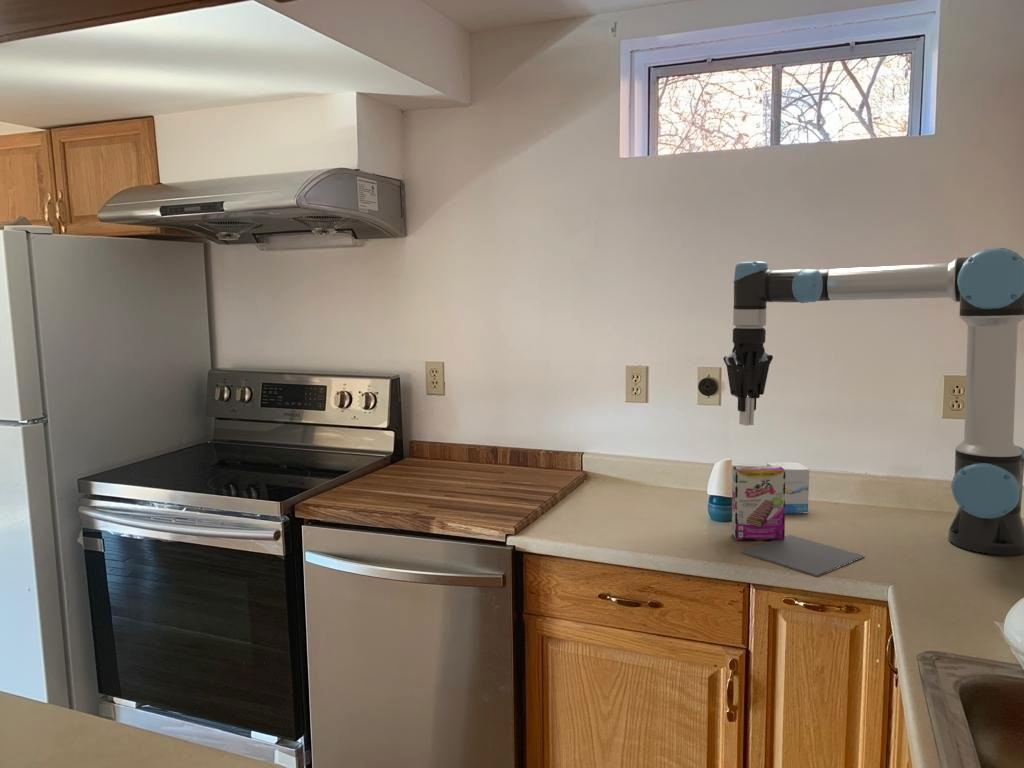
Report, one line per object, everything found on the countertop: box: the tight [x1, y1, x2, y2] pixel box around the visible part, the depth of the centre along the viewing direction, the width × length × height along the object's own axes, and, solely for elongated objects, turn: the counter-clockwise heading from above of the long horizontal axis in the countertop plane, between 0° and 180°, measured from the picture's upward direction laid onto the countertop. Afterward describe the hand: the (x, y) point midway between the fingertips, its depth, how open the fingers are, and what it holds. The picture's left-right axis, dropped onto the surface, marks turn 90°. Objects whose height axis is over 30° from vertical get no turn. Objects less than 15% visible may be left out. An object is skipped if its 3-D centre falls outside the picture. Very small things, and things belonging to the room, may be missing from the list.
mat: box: [741, 534, 865, 578], centre depth 167 cm, size 18×18×1 cm
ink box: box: [766, 461, 810, 514], centre depth 200 cm, size 8×8×12 cm
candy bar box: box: [731, 465, 786, 541], centre depth 177 cm, size 11×5×16 cm, turn 84°
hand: (746, 424), depth 187 cm, fingers closed
